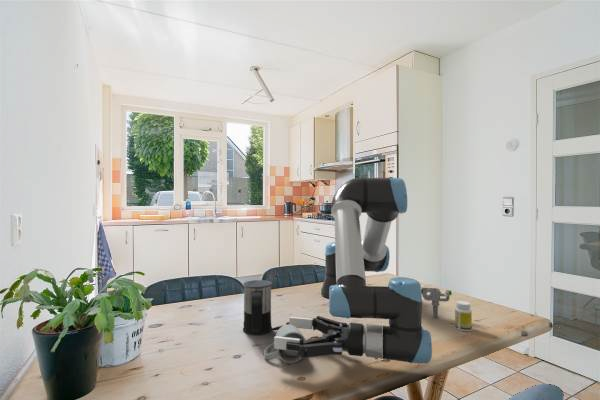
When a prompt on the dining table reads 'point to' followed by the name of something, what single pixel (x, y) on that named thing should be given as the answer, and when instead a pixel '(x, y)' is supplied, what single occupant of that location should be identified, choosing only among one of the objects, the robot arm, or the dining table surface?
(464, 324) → the supplement bottle
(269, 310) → the milk frother
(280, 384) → the dining table surface
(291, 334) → the ceramic mug
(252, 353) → the dining table surface
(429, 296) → the mechanical component
